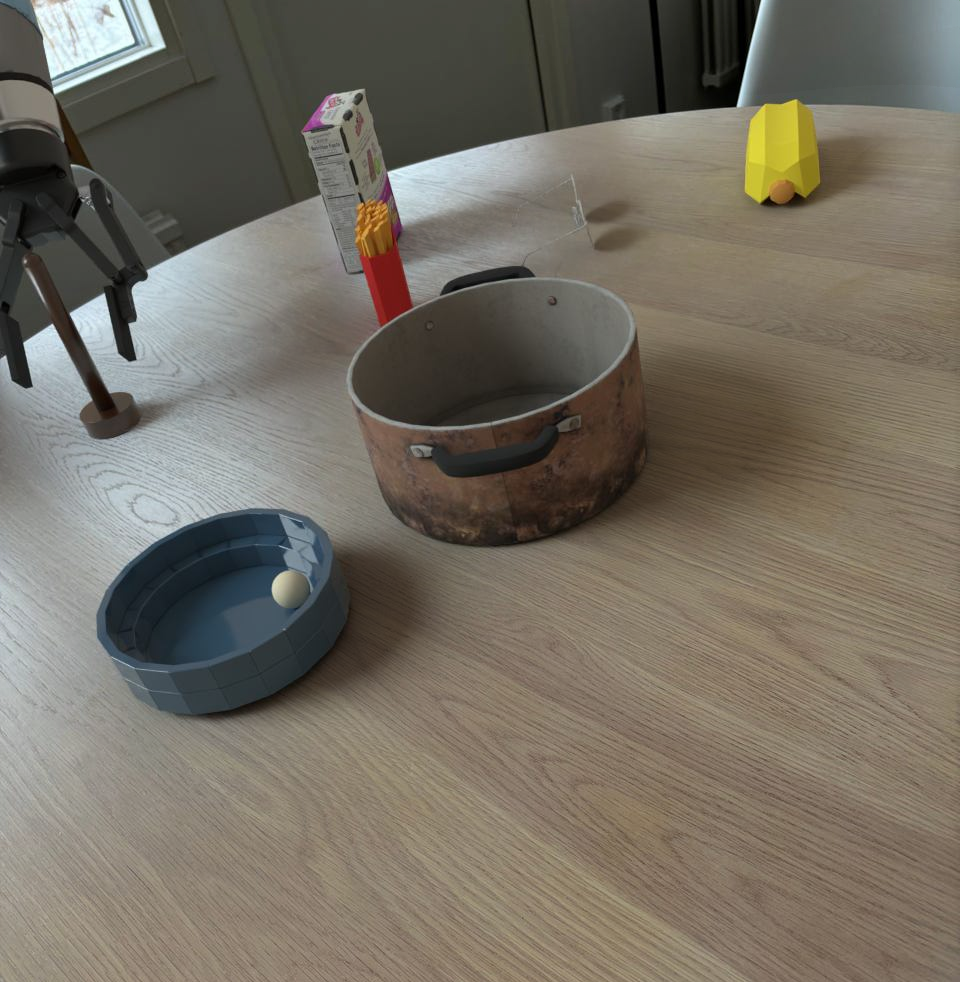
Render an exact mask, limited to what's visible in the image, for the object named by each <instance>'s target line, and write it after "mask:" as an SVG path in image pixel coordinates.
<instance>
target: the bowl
mask: <svg viewBox="0 0 960 982" xmlns="http://www.w3.org/2000/svg"><path fill="white" fill-rule="evenodd" d="M289 570H293V571H297V572H300V573H302V574H303V575H304V576H305V577H306V578H307V579H308V581H309V584H310V596H309V597H308V599H307V600H306V602H305V603H304V604H303V605H302V606H300V607H298V608H293V609H289V608H285V607H282V606H281V605H279V604H278V603H277V602H276V601H275V599H274V597H273V595H272V584H273V581H274V580H275V578H276V577H277V576H278V575H279V574H280V573H282V572H285V571H289ZM350 602H351V593H350V590H349V588H348V585H347V582H346V578H345V577H344V574H343V571H342V569H341V566H340V563H339V560H338V558H337V555H336V552H335V550H334V548H333V545H332V543H331V540H330V537H329V534H328V532H327V531H326V530H325V529H324V528H323V527H321V526H320V525H319V524H318V523H317V522H315V521H314V519H312V518H310V517H309V516H307V515H304V514H300V513H297V512H294V511H291V510H288V509H284V508H265V507H264V508H263V507H251V508H244V509H239V510H234V511H228V512H227V511H225V512H221V513H217V514H214V515H212V516H209V517H206V518H202V519H200V520H198V521H195V522H191V523H189V524H185V525H184V526H182V527H180V528H178V529H177V530H174V531H172V532H171V533H169V534H167V535H166V536H164V537H162V538H160V539H158V540H156V541H154V542H153V543H152V544H150V545H149V546H148V547H147V548H145V549H144V550H143V551H142V552H140V553H139V554H138V555H137V556H135V557H134V558H133V559H132V560H130V561H129V562H128V563H126V565H125V566H124V567H123V568H122V570H121V571H120V572H119V573H118V574H117V575H116V576H115V578H114V579H113V581H112V582H111V583H110V584H109V585H108V587H106V589H105V592H104V594H103V596H102V599H101V601H100V603H99V607H98V609H97V611H96V614H95V619H96V620H95V621H96V639H97V640H98V642H99V643H100V645H101V646H102V648H103V650H104V651H105V653H106V655H107V656H108V658H109V659H110V661H111V663H112V664H113V666H114V668H115V669H116V671H117V673H118V674H119V675H120V677H121V678H122V681H124V683H125V685H126V686H127V687H128V689H129V691H130V692H131V693H132V695H133V696H134V698H135V699H136V700H139V701H140V702H142V703H144V704H146V705H148V706H150V707H152V708H154V709H156V710H158V711H160V712H166V713H175V714H184V715H191V716H196V715H203V714H211V713H219V712H225V711H232V710H234V709H237V708H240V707H242V706H246V705H248V704H251V703H253V702H256V701H259V700H261V699H265V698H267V697H270V696H272V695H273V694H275V693H277V692H278V691H280V690H282V689H283V688H285V687H287V686H288V685H290V684H292V683H293V682H295V681H296V680H298V679H299V678H301V677H303V676H304V675H305V674H307V672H309V671H310V669H312V667H314V666H315V665H316V664H317V662H319V661H320V660H321V659H322V658H323V657H324V656H325V655H326V654H327V653H328V652H329V651H330V650H331V649H332V647H333V646H334V644H335V643H336V640H337V639H338V638H339V635H340V634H341V633H342V631H343V629H344V627H345V625H346V623H347V621H348V615H349V608H350Z"/></svg>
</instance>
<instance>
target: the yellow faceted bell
mask: <svg viewBox="0 0 960 982" xmlns="http://www.w3.org/2000/svg"><path fill="white" fill-rule="evenodd" d="M817 139H818V138H817V134H816V127H815V122H814V115H813V111H812V110H811V109H809V108H808V107H807V106H806V105H804V104H803V103H802V102H801V101H800V100H798V99H796V98H795V99H792V100H790V101H786V102H784V103H780V104H779V103H764V105H763V106H762V107H761V108H760V109H759V110H758V111H757V112H756V114H755V115H754V116H753V117H752V118H751V119H750V121H749V128H748V137H747V144H746V150H745V151H746V153H745V171H744V172H745V173H744V177H745V178H744V193H745V194H746V195H748V196H749V197H750V198H751V199H752V200H754V201H755V202H756V203H757V204H759V205H762V204H763V203H764V202H765V201H766V200H767V199H770V200H771V201H772V202H774V203H776V204H778V205H782V204H787V203H788V202H789V201H790V200H792V198H794V196H795V193H797V194H798V195H800V196H801V197H802V198H803V199H804V200H805V199H806V198H807V197H808V196H809V195H810V194H811V193H812V192H813V191H814V190H815V189H816V187H818V186H819V184H820V183H821V175H820V157H819V149H818V147H819V146H818V140H817Z"/></svg>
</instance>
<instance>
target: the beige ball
mask: <svg viewBox="0 0 960 982" xmlns="http://www.w3.org/2000/svg"><path fill="white" fill-rule="evenodd" d="M272 595H273V597H274V599H275V601H276V602H277V603H278V604H279V605H281V606H282V607H285V608H289V609H293V608H298V607H300V606H302V605H303V604H304V603H305V602H306V600H307V599H308V597H309V596H310V584H309V581H308V579H307V578H306V577H305V576H304V575H303V574H302V573H300V572H297V571H293V570H289V571H285V572H282V573H280V574H279V575H278V576H277V577H276V578H275V580H274V581H273V584H272Z"/></svg>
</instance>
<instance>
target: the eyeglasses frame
mask: <svg viewBox="0 0 960 982" xmlns="http://www.w3.org/2000/svg"><path fill="white" fill-rule="evenodd" d="M570 182H572V185H573V189H574V193H575V202H576V204H577V206H578V207H575V206H572V208H571V211H572V213H573V214H574V215H573V218H574V221H575V223H576V225H577V226H578V227H579V228H577V229H575V230H572V231H571V232H568V233H567V234H564V235H562V236H560V237H558V238H556V239H555V240H553V241H551V242H549V243H547V244H545V245H542V246H539V247H537V248H536V249H534V250H532V251H529V252H528V253H527V254H526V255H525V256H524V258H523V261H522V263H521V266H524V265H525V262H526V260H527V258H528V257H529V256H530V255H532V254H534V253H535V252H537V251H539V250H542V248H545V247H547V246H549V245H551V244H553V243H556V242H558V241H560V240H562V239H565V238H566V237H569V236H570V235H573V234H575V233H578V232H579V231H581V230H583V229H585V230H586V233H587V235H588V239H589V241H590V243H591V247H592V249H593V250H595V249H596V247H595V243H594V240H593V238H592V235H591V231H590V228H589V225H588V222H587V216H586V213H585V210H584V208H583V205H582V202H581V199H580V195H579V191H578V189H577V186H576V183H575V179H574V176H573V173H571V174H570V179H568V180H566V181H564V182H562V183H559V185H557V186H554V187H553V188H552V189H549V190H547V191H546V192H544V193H542V194H540V195H538V196H537V197H535V198H533V199H531V200H529V201H526V202H525V203H523V204H521V205H520V206H519V207H518V209H516V212H515V215H514V218H513V221H512V224H511V227H513V228H514V227H515V224H516V221H517V217H518V213H519V211H520V210H521V209H522V208H524V207H525V206H526V205H528V204H530V203H532V202H533V201H535V200H537V199H539V198H540V197H543V196H545V195H546V194H548V193H550V192H552V191H554V190H556V189H558V188H560V187H562V186H565V185H566V184H568V183H570ZM578 209H579V210H578ZM579 212H580V213H579ZM581 219H582V220H581ZM582 221H583V223H584V225H583V223H582ZM524 267H525V266H524Z"/></svg>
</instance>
